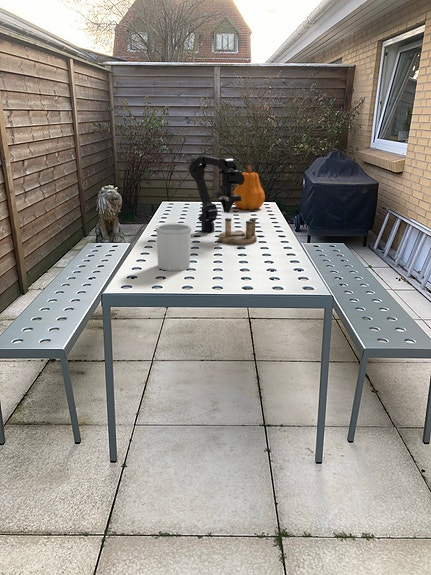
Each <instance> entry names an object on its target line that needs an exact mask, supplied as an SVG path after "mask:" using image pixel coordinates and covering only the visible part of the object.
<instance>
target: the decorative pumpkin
mask: <svg viewBox="0 0 431 575" xmlns="http://www.w3.org/2000/svg"><path fill="white" fill-rule="evenodd" d="M246 168H247V170H248V172H247V171H246V172H243V171H242V174H243V175H244V178H245V180H244V183H243V184H242V185H236V187H234V190H233V193H234V195H240V196H241V197H242V198H241V201H237V202H234V203H233V205H235V207H236V208H238V209H239V210H240V209H241V210H249V211H250V210H251V211H252V210H257V209H259V208H261V207H262V206H263V204H264V203H265V201H266V200H265V199H266V196H265V195H266V194H265V192H264V189H263V187H262V185H261V181H260V176H259V174H258V173H257V172H254V171H253V172H252V168H251V166H250V164H249V165H248V164H247V166H246Z"/></svg>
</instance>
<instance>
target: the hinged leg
mask: <svg viewBox="0 0 431 575" xmlns="http://www.w3.org/2000/svg"><path fill="white" fill-rule="evenodd" d="M232 219H233V218H231V217H230V218H229V217H227V218H224V222H225V224H224V226H225V230H224V232H225V236H245V233H241V234H231V231H232Z"/></svg>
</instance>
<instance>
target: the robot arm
mask: <svg viewBox="0 0 431 575" xmlns="http://www.w3.org/2000/svg"><path fill="white" fill-rule="evenodd" d="M208 165H211V166H214V167H217V168H218V169H219V170H220V171H219V172H218V174H219V175H221V184H219V188H217V189H215V190H213V191H211V195H212V198H213V199H216V200H218V201H219V202H220V203H221V207H222V209H223V213H226V214H229V213H230V211H231V209H232V207H233V205H234V202H237V201H241V198H242V197H241V196H240V195H234V192H233V188H235V186H234V185H236V186H237V185H242V184H243V183H244V180H245V178H244V175H243V174H242V173H243V171H239V169H238V167H237V165H236V163H235V160H234V159H233V157H232V158H218V157H214V156H210V155H208V154H207V155H206V154H204V155H203V154H202V155H199V156H198V158H196V159H195V160H193V161H192V162H191V163H190V164H189V166H188V172H189V174H190V176H191V177H192V178H193V180H194V181H195V184H196V186H197V191H198V194H199V196H200V200H201V203H202V205H201V214H200V215H199V217H198V221H199V222H201V230H200V231H199V232H201V233H208V234H211V233H213V232H215V223H214V221H216V220H217V217H218V214H219V212H218V211H219V210H218V208H217V204H216V203H213V202H212V201H211V200H212V199H211V197H210V194H209V191H208V187H207V184H206V180H205V174H206V171H205V170H206V168H207V166H208Z"/></svg>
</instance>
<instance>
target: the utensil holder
mask: <svg viewBox="0 0 431 575" xmlns="http://www.w3.org/2000/svg"><path fill="white" fill-rule="evenodd" d="M155 231H156V249H157V250H156V251H157V252H156V253H157V267H158V268H159V269H161V270H163V271H168V272H169V271H170V272H171V271H172V272H173V271H174V272H177V271H183V270H187V269H189V268H190V264H191V231H192V226H191V225H189V224H185V223H175V222H172V223H171V222H170V223H160V224H157V225H156V226H155Z"/></svg>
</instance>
